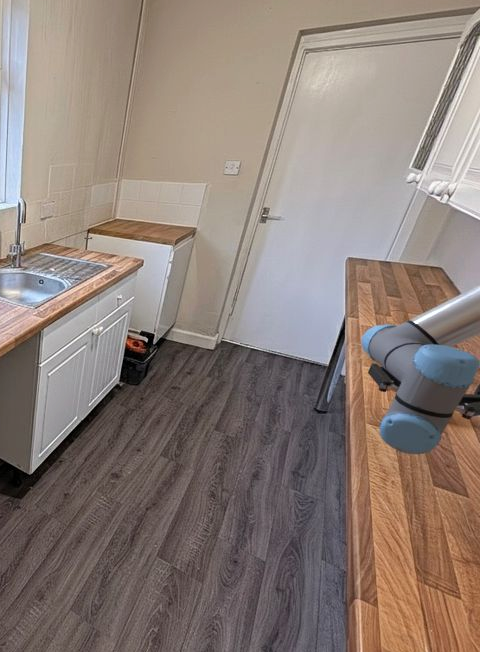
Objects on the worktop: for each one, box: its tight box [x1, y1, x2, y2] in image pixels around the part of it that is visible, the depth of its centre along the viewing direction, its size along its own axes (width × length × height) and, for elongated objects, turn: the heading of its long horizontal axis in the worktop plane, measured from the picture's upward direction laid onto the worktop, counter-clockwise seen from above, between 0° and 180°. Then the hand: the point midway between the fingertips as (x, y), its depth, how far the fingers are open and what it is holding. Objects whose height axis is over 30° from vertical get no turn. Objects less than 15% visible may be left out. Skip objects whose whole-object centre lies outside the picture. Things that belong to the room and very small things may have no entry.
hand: (435, 375), depth 95 cm, fingers open, 13 cm apart
